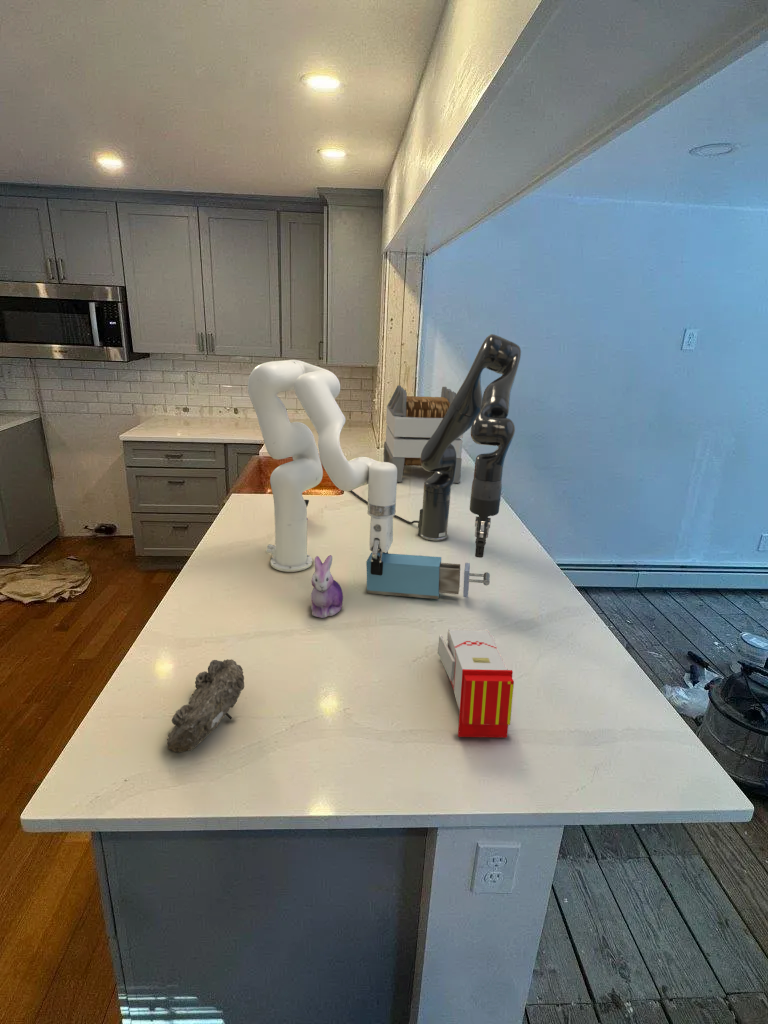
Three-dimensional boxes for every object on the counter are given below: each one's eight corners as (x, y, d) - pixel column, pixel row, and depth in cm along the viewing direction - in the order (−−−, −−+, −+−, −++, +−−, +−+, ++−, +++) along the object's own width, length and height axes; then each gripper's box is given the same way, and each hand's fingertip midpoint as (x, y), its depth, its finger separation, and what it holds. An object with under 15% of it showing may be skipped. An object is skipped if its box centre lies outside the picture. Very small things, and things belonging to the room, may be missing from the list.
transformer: (382, 463, 289) (386, 382, 275) (445, 464, 293) (451, 384, 279) (390, 482, 257) (394, 392, 243) (460, 483, 261) (468, 394, 247)
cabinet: (440, 588, 160) (441, 557, 157) (438, 599, 154) (439, 566, 151) (371, 582, 164) (371, 552, 160) (366, 593, 158) (366, 561, 154)
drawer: (489, 590, 157) (490, 564, 154) (488, 599, 152) (490, 572, 149) (402, 583, 161) (402, 558, 158) (399, 591, 156) (399, 565, 154)
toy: (488, 613, 130) (523, 677, 101) (484, 667, 133) (517, 744, 104) (435, 612, 130) (455, 676, 101) (432, 666, 133) (451, 743, 103)
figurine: (316, 622, 141) (316, 568, 136) (302, 604, 150) (302, 552, 145) (351, 615, 146) (352, 562, 140) (335, 597, 154) (336, 546, 149)
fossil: (192, 660, 117) (244, 628, 112) (224, 691, 120) (276, 661, 115) (142, 746, 98) (202, 712, 93) (182, 779, 101) (242, 748, 96)
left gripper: (389, 520, 143) (386, 584, 149) (400, 500, 159) (397, 558, 165) (360, 517, 145) (358, 580, 151) (374, 497, 161) (372, 555, 167)
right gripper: (500, 504, 138) (492, 568, 144) (500, 488, 151) (493, 548, 157) (469, 501, 140) (463, 564, 146) (472, 485, 152) (466, 545, 158)
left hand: (379, 568), depth 158 cm, fingers closed on cabinet, 6 cm apart
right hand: (479, 556), depth 151 cm, fingers closed
